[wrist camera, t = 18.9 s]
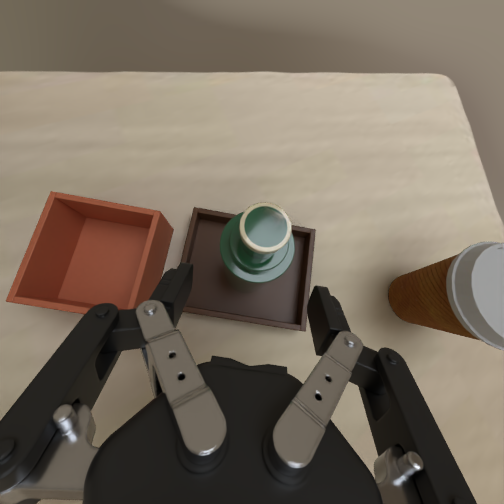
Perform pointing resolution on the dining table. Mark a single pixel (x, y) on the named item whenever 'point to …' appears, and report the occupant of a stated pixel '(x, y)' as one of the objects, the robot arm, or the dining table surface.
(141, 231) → the bin
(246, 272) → the bottle
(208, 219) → the tray
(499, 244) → the disposable coffee cup
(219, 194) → the dining table surface
